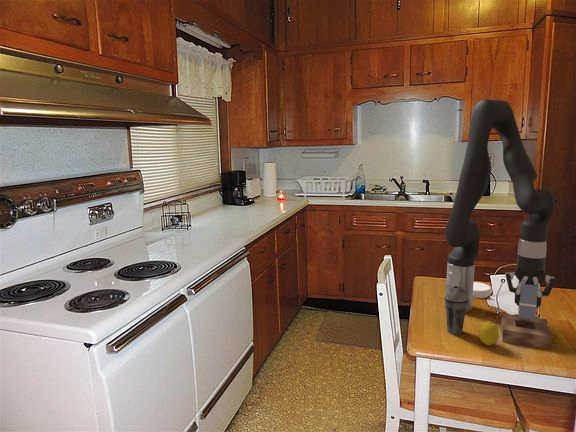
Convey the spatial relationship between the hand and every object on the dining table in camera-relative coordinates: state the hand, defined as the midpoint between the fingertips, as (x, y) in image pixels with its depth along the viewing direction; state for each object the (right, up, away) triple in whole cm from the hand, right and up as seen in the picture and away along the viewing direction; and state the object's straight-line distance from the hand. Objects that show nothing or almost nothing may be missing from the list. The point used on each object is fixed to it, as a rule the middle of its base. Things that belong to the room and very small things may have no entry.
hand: (527, 305), depth 133 cm
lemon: (-14, -12, -3) cm, 19 cm away
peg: (0, -3, +1) cm, 3 cm away
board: (0, -10, +2) cm, 10 cm away
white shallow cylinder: (+1, -3, +37) cm, 38 cm away
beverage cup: (-20, -10, +6) cm, 24 cm away
